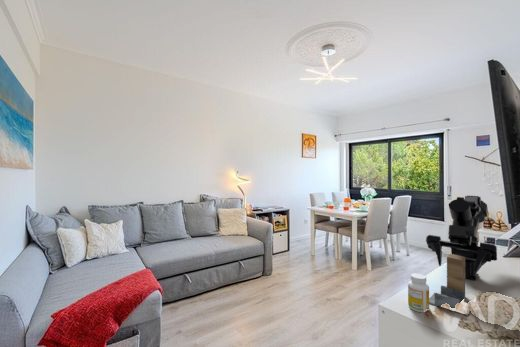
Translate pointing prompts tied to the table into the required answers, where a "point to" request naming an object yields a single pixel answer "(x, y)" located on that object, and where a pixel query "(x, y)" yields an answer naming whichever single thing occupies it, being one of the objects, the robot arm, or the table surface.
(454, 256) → the brown wooden block
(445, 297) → the clip
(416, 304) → the supplement bottle
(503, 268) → the table surface
